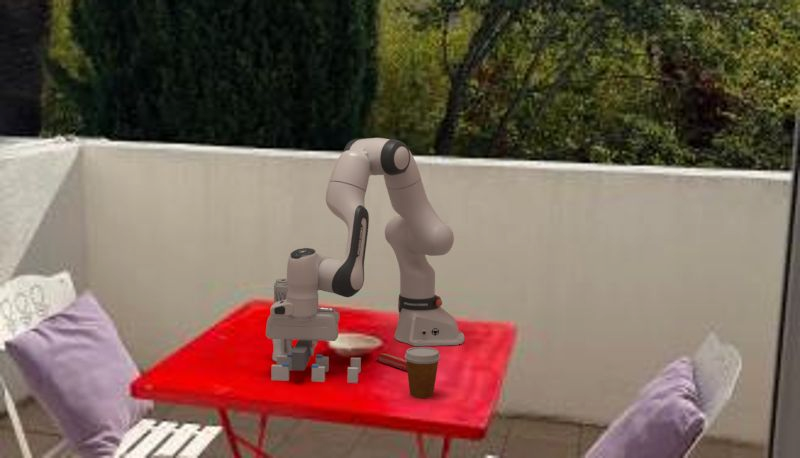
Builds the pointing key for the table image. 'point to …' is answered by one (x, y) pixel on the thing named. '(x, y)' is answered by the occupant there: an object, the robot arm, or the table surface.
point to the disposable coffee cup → (422, 370)
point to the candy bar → (392, 361)
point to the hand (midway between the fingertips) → (302, 354)
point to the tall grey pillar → (301, 354)
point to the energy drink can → (280, 290)
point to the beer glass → (280, 348)
